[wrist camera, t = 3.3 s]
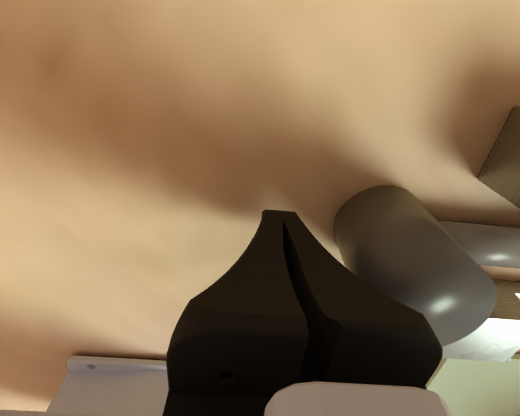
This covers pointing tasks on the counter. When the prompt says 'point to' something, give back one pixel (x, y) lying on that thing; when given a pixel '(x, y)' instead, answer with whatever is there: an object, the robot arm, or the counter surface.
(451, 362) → the plate
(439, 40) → the counter surface
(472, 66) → the counter surface
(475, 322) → the grey tapered rounded piece
